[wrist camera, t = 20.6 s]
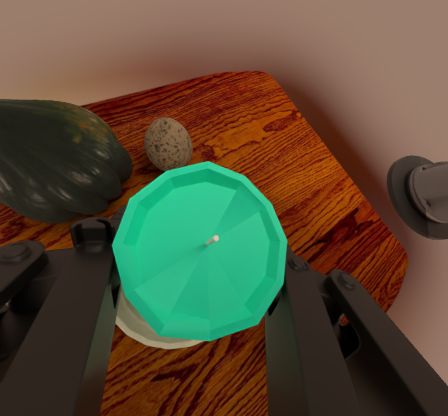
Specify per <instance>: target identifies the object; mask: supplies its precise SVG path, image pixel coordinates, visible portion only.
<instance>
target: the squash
mask: <svg viewBox="0 0 448 416" xmlns="http://www.w3.org/2000/svg"><path fill="white" fill-rule="evenodd" d="M132 169H133V164H132V160H131V157H130V155H129V154H128V152H127V151H126V150H125V149H124V148H123V147H122V145H121V144H120V143H119V142H118V141H117V138H116V136H115V134H114V133H113V131H112V129H111V128H110V126H109V125H108V124H107V123H106V122H105V121H104V120H102V119H101V118H100V117H98V116H97V115H95V114H94V113H92V112H91V111H89V110H87V109H85V108H83V107H81V106H77V105H74V104H70V103H65V102H59V101H52V100H51V101H50V100H48V101H47V100H10V99H0V203H1V204H4V205H6V206H8V207H10V208H11V209H13V210H14V211H16V212H18V213H19V214H21V215H23V216H25V217H27V218H30V219H33V220H37V221H41V222H47V223H65V222H70V221H73V220H76V219H78V218H80V217H81V216H83V215H85V214H88V215H93V214H95V213H100V212H104V211H106V209H107V207H108V200H110V199H115V198H117V197H119V196H120V195H121V193H122V186H121V183H123V182H124V181H126V180H127V179H128V178H129V177H130V175H131V173H132Z"/></svg>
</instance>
